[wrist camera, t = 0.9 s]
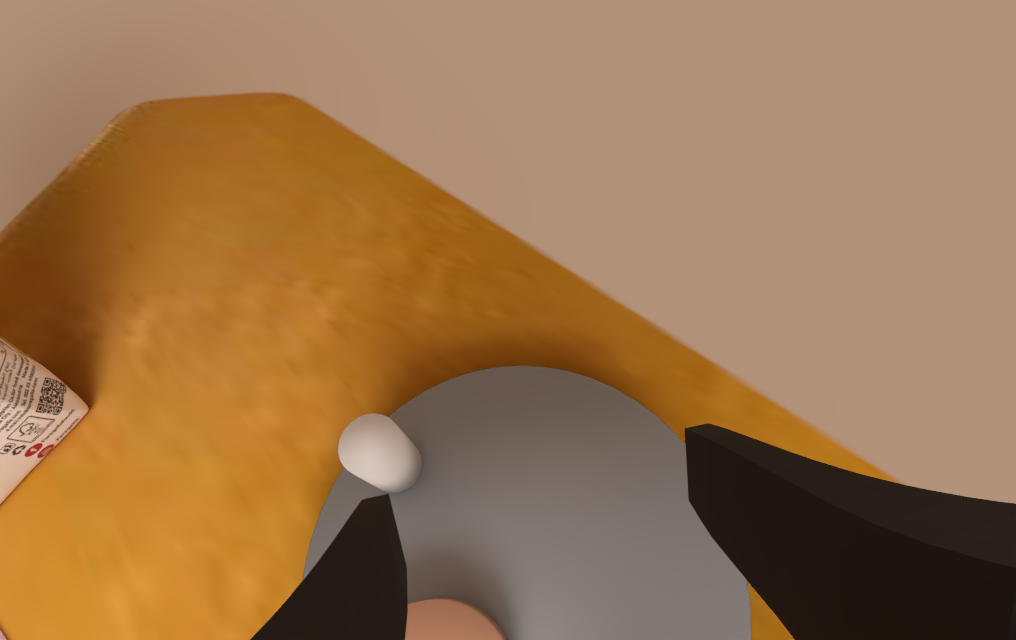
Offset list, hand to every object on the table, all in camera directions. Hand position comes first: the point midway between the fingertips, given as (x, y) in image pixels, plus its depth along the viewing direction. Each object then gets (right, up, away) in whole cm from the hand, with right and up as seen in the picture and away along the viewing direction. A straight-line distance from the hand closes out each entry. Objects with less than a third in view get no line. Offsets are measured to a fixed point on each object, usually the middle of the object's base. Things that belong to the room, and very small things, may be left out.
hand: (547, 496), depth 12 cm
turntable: (0, -7, +10) cm, 12 cm away
